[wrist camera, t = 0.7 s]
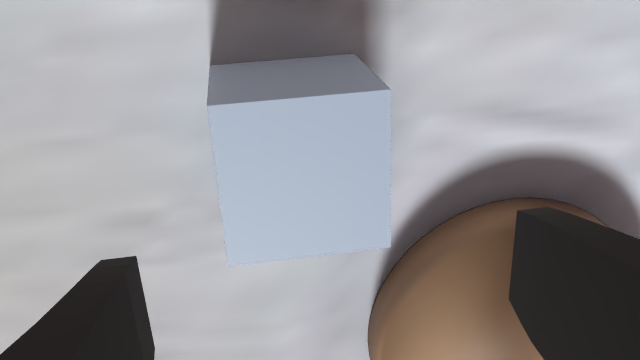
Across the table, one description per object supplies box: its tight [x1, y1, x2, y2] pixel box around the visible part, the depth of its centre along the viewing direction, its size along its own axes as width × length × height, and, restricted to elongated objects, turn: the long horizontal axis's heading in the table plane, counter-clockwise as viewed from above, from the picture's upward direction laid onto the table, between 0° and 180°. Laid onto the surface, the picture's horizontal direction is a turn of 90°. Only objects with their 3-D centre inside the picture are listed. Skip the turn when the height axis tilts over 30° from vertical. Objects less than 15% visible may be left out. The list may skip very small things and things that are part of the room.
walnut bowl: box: [368, 198, 607, 360], centre depth 23 cm, size 11×11×2 cm
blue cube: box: [207, 54, 391, 267], centre depth 17 cm, size 4×4×4 cm
